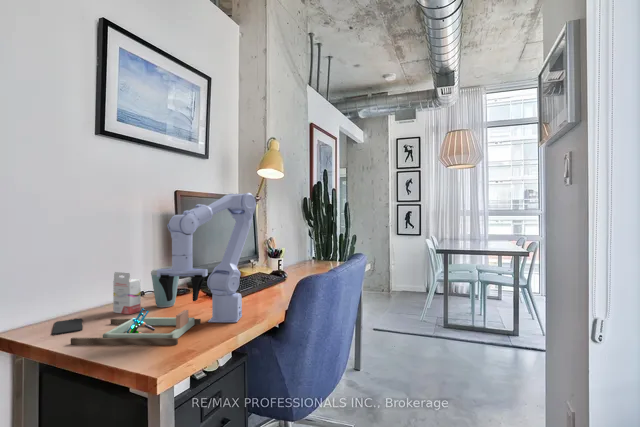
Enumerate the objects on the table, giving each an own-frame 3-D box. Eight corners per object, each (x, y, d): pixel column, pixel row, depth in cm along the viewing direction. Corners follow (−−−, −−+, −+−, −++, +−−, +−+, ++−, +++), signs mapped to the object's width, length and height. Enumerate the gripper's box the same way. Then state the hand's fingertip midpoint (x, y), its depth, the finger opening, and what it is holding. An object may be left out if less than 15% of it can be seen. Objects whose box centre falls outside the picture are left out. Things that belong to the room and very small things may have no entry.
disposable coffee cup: (149, 310, 128) (149, 269, 128) (151, 303, 138) (151, 266, 138) (180, 307, 133) (180, 268, 133) (179, 301, 142) (179, 264, 143)
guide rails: (200, 323, 112) (200, 318, 112) (176, 344, 94) (176, 338, 94) (112, 323, 113) (112, 318, 113) (70, 344, 94) (70, 338, 94)
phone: (82, 317, 118) (82, 329, 106) (82, 320, 118) (82, 331, 106) (54, 321, 114) (52, 333, 101) (54, 324, 114) (52, 336, 101)
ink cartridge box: (141, 311, 127) (141, 271, 127) (129, 315, 123) (129, 273, 123) (124, 309, 130) (124, 269, 131) (112, 312, 126) (112, 271, 126)
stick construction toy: (129, 321, 108) (143, 302, 107) (150, 331, 110) (164, 313, 110) (116, 346, 96) (133, 324, 96) (140, 356, 99) (156, 335, 98)
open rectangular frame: (194, 324, 111) (194, 305, 111) (172, 342, 95) (172, 320, 95) (134, 324, 111) (134, 305, 111) (102, 342, 95) (102, 320, 95)
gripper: (151, 256, 99) (151, 303, 99) (201, 256, 99) (201, 303, 99) (163, 253, 107) (163, 298, 106) (210, 253, 106) (210, 298, 106)
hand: (182, 300), depth 103 cm, fingers open, 7 cm apart
